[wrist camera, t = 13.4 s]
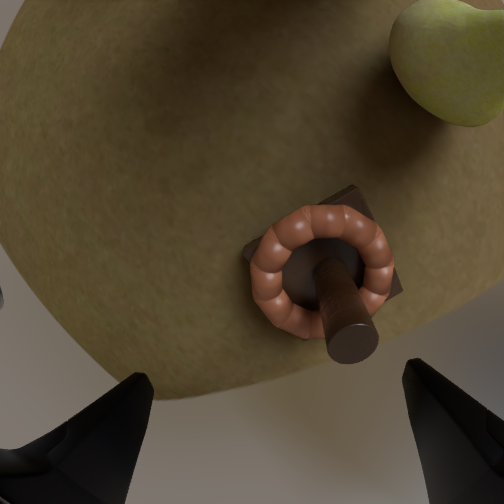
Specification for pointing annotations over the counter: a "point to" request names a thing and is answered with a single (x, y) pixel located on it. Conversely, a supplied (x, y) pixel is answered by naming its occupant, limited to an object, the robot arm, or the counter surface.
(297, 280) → the post
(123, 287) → the counter surface
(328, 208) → the ring
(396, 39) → the fruit
